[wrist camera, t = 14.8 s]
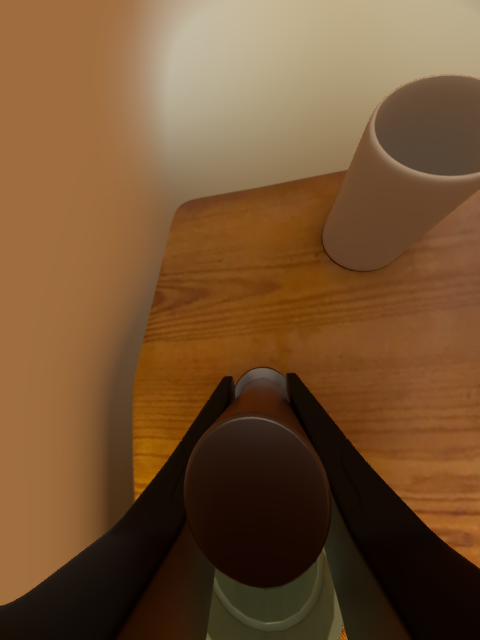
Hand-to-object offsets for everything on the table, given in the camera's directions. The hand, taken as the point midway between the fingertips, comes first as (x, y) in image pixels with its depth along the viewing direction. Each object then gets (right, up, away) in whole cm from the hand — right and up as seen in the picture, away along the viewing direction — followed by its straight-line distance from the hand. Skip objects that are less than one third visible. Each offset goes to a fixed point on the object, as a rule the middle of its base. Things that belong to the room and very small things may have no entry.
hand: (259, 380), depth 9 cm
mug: (+14, +13, +13) cm, 23 cm away
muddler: (+1, -3, +6) cm, 7 cm away
